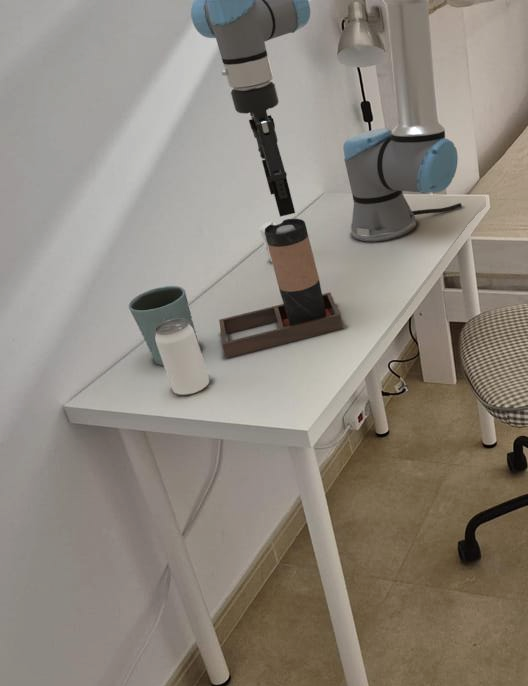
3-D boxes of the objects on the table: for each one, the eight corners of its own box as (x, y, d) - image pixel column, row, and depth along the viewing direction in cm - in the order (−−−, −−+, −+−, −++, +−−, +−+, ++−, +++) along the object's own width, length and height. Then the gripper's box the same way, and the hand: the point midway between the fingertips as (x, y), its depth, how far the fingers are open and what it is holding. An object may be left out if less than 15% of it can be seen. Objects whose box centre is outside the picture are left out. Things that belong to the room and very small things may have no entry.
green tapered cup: (213, 350, 164) (194, 292, 158) (164, 374, 158) (144, 315, 152) (186, 336, 170) (168, 281, 164) (139, 359, 165) (118, 302, 159)
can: (206, 393, 150) (186, 331, 144) (169, 398, 150) (147, 337, 144) (213, 374, 155) (194, 314, 149) (177, 379, 155) (157, 320, 149)
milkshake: (273, 267, 196) (262, 225, 191) (265, 260, 200) (254, 219, 196) (292, 260, 198) (281, 219, 193) (283, 254, 202) (273, 213, 197)
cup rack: (223, 333, 170) (219, 319, 168) (333, 305, 174) (330, 292, 172) (226, 358, 160) (222, 344, 158) (343, 328, 164) (340, 314, 163)
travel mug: (320, 332, 164) (296, 233, 154) (283, 333, 166) (257, 235, 156) (334, 313, 170) (311, 217, 160) (297, 314, 172) (273, 219, 162)
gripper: (224, 77, 158) (255, 188, 168) (236, 104, 137) (270, 229, 147) (265, 68, 159) (293, 179, 170) (283, 94, 138) (313, 218, 149)
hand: (282, 203), depth 159 cm, fingers open, 13 cm apart
